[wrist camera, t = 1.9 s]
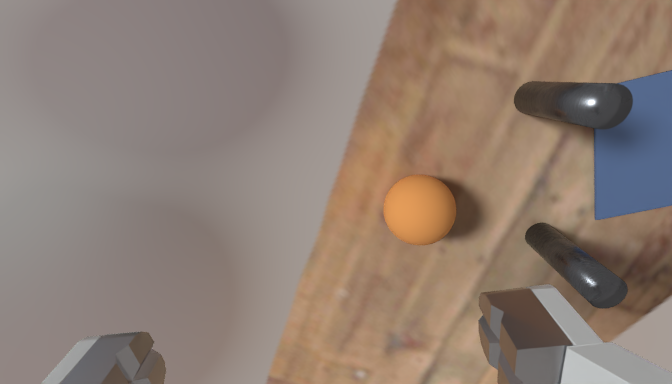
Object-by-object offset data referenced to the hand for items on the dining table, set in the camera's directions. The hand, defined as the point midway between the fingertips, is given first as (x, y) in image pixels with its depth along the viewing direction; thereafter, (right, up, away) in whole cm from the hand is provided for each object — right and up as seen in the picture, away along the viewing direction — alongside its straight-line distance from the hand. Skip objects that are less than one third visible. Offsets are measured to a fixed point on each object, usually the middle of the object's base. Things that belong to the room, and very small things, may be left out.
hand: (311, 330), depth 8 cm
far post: (+20, -1, +24) cm, 31 cm away
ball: (+8, +2, +20) cm, 22 cm away
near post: (+17, +11, +20) cm, 28 cm away
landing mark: (+29, +8, +20) cm, 36 cm away
